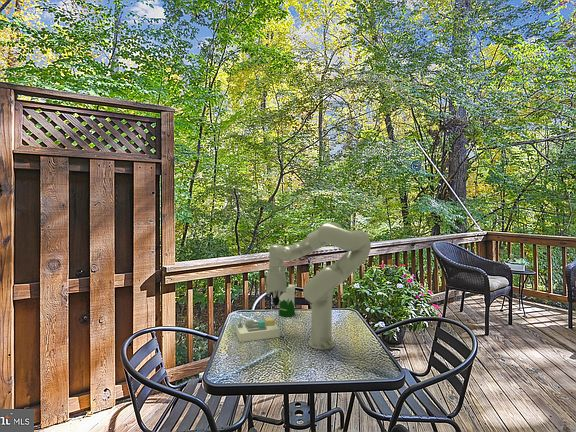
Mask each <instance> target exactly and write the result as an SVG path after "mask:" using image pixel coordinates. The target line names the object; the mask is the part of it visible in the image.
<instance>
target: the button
mask: <svg viewBox="0 0 576 432" xmlns="http://www.w3.org/2000/svg"><path fill="white" fill-rule="evenodd" d="M263 320H264V321H265V325H266V326H272V325H275V324H276V321H275V318H274V317H265V318H264V319H263Z"/></svg>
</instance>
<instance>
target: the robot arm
mask: <svg viewBox="0 0 576 432" xmlns="http://www.w3.org/2000/svg"><path fill="white" fill-rule="evenodd" d="M327 245H330V246H334V247H335V248H338V249H341V250H345V251H346V252H345V253H344V254H343V255H342V256H341V257H340V258H339V259H338V260H336V261H335V262H334V263H332V264H330V265H327V266H325V267H323V268H322V269H321V270H319V272H317V273H316V274H315V275H314V276H313V277H312V278H310V280H308V281H307V283H305V285H304V286H303V291H302V292H303V297H304V299H305V300H306V301H308V302H309V303H311V314H310V315H311V319H310V320H311V325H310V326H311V328H310V329H311V332H310V333H311V338H310V339H308V341H307V344H308V346H309V347H310V348H312V349H315V350H319V351H320V350H321V351H326V350H331V349H333V348H334V347H335V346H336V341H334V339H333V338H332V336H333V335H332V334H333V332H332V330H333V329H332V327H333V325H332V324H333V323H332V322H333V321H332V317H333V316H332V315H333V314H332V312H333V308H332V307H333V297H334V289H335V288H337V287H338V286H340V285H341V284H343V283H344V282H345V281H346V280H347V279H348V278H349V277H350V276H351V275H352V274H353V273H354V272H355V271H356V270H358V269H359V267H360V266H361V265H363V264H364V262H366V260H367V258H368V257H369V255H370V252H371V247H372V246H371V245H372V243H371V239H370V236H369V235H368V233H367V232H365V231H364V230H360V229H356V230H349V229H345V228H343V227H342V225H341V224H340V223H338V222H333V221H332V222H325V223H322V224H321V225H320V226H319V227H318V228H317V229H316V230H313V231H312V232H310V233H308V234H307V236H306V238H304V239H303V240H301V241H298V242H297V243H294V244H290V245H289V244H288V245H285V246H284V245H283V244H270V245H269V250H268V251H269V254H268V255H269V256H268V258H269V259H268V271H267V272H266V278H265V294H266V295H271V297H272V304H273V305H274V306H279V297H280V296H281V295H282V294H283V293H286V282H287V276H286V271H285V270H287V268H288V267H287V265H286V266H285V262H291V261H294V260H298V259H301V258H302V257H304V256H307V255H309V254H311V253H313V252H314V251H317V250H319V249H321V248H323V247H325V246H327Z"/></svg>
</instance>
